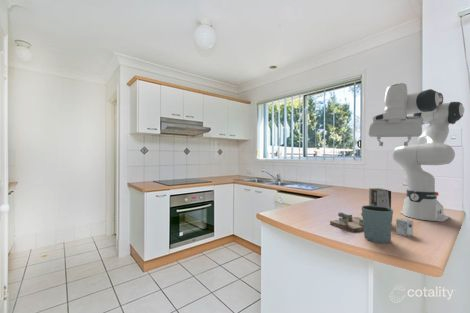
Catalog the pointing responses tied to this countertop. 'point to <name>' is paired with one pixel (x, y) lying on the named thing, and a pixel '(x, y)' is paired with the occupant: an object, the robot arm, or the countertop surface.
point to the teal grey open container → (377, 223)
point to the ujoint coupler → (404, 227)
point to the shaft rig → (349, 222)
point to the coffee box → (380, 197)
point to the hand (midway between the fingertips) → (393, 146)
